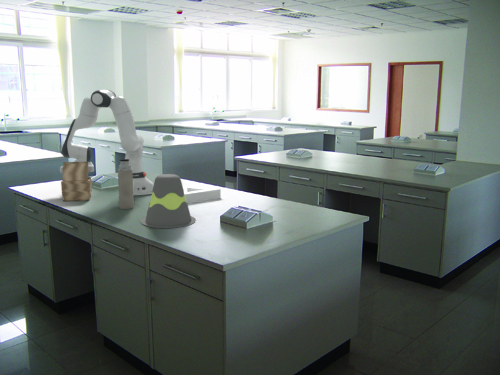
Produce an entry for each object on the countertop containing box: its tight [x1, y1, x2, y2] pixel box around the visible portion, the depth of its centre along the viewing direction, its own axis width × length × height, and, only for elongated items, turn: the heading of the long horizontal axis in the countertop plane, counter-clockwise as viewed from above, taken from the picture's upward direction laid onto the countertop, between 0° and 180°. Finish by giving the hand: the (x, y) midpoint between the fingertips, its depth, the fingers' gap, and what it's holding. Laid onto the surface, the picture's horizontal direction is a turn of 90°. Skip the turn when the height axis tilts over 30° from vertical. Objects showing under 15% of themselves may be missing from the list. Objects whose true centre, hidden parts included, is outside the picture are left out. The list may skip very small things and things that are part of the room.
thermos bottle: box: [117, 158, 135, 210], centre depth 253 cm, size 8×8×28 cm
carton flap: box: [61, 161, 89, 182], centre depth 271 cm, size 14×14×1 cm
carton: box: [60, 176, 93, 202], centre depth 275 cm, size 16×14×12 cm
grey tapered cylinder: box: [140, 173, 197, 229], centre depth 226 cm, size 28×28×24 cm
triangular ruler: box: [182, 185, 222, 204], centre depth 283 cm, size 30×26×6 cm
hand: (76, 170), depth 273 cm, fingers closed
